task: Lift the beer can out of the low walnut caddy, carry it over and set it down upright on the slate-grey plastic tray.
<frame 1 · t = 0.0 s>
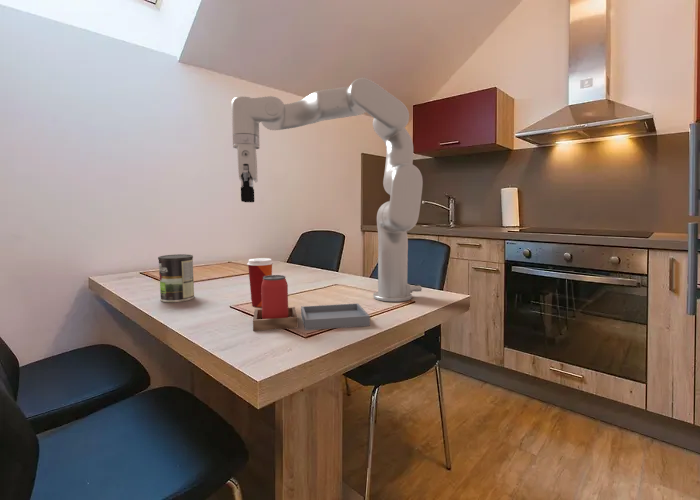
hand: (248, 201, 111), 31 cm above the table, tool pointing down, fingers open, 9 cm apart
paper cup: (261, 305, 115), on the table
beer can: (275, 323, 96), resting in caddy
caddy: (275, 322, 96), on the table
coffee can: (178, 299, 123), on the table
tray: (333, 320, 98), on the table
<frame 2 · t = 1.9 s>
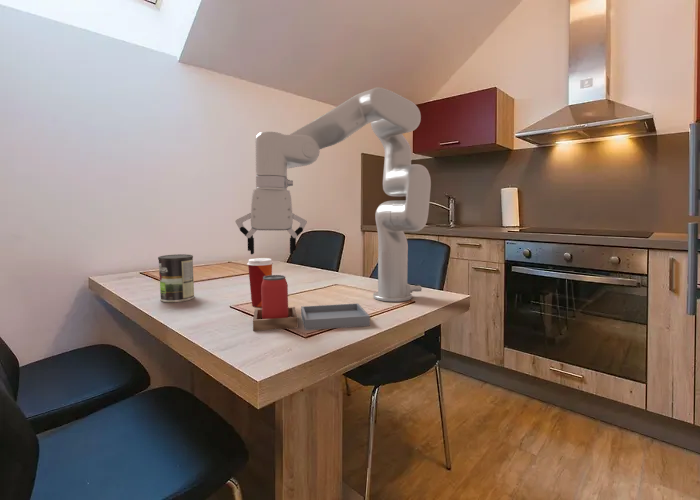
hand: (272, 253, 94), 18 cm above the table, tool pointing down, fingers open, 9 cm apart
nothing on the table moved.
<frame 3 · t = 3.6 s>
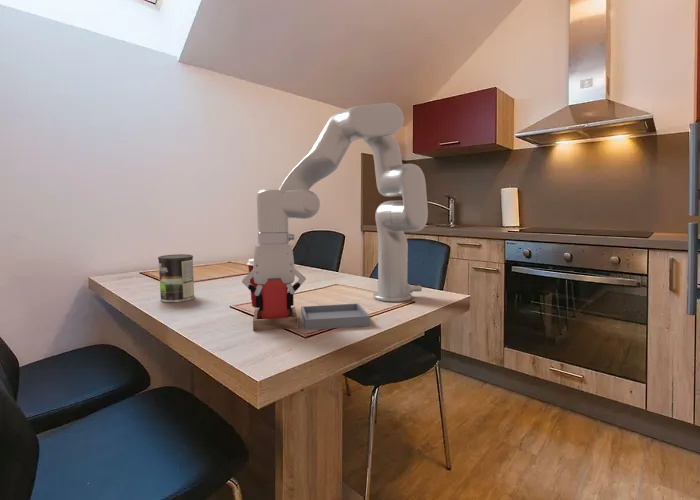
hand: (275, 308, 96), 4 cm above the table, tool pointing down, fingers closed on beer can, 6 cm apart
beer can: (275, 323, 96), resting in caddy, touching gripper
everything else where it was.
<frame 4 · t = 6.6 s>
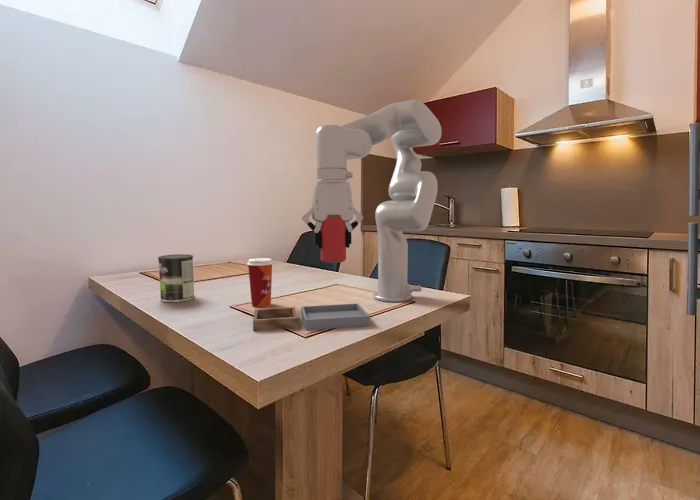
hand: (333, 247, 96), 19 cm above the table, tool pointing down, fingers closed on beer can, 6 cm apart
beer can: (333, 262, 97), point 15 cm above the table, touching gripper
everything else where it was.
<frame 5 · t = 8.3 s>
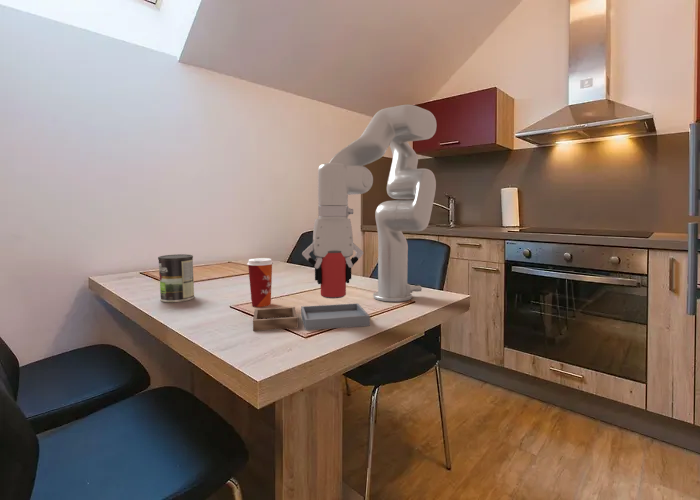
hand: (333, 282, 97), 10 cm above the table, tool pointing down, fingers closed on beer can, 6 cm apart
beer can: (333, 296, 97), point 6 cm above the table, touching gripper
everything else where it was.
when the fingers open (6 cm above the table, at t = 9.7 s): beer can stays where it is, resting on tray.
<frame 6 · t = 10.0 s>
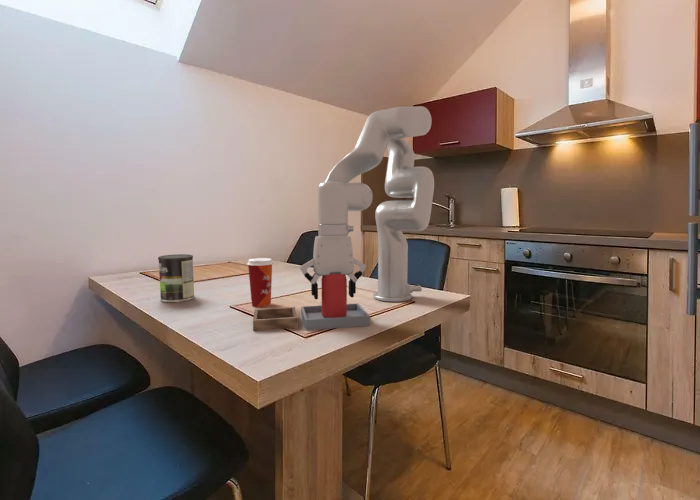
hand: (333, 297, 98), 6 cm above the table, tool pointing down, fingers open, 9 cm apart
beer can: (334, 317, 98), point 1 cm above the table, touching tray
everything else where it was.
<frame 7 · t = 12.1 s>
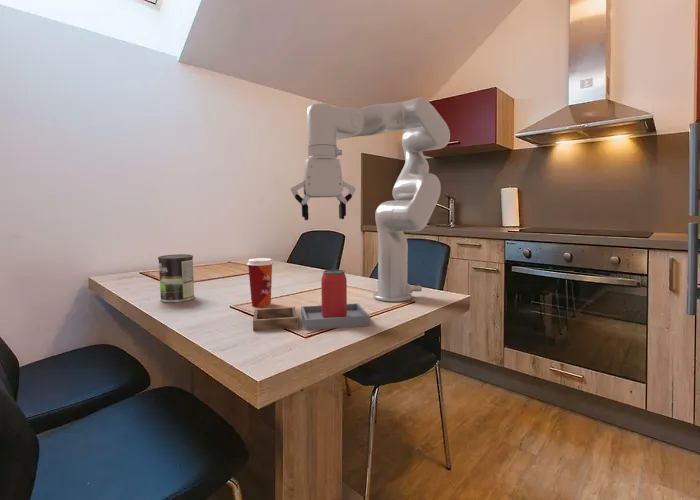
hand: (324, 219, 101), 26 cm above the table, tool pointing down, fingers open, 9 cm apart
nothing on the table moved.
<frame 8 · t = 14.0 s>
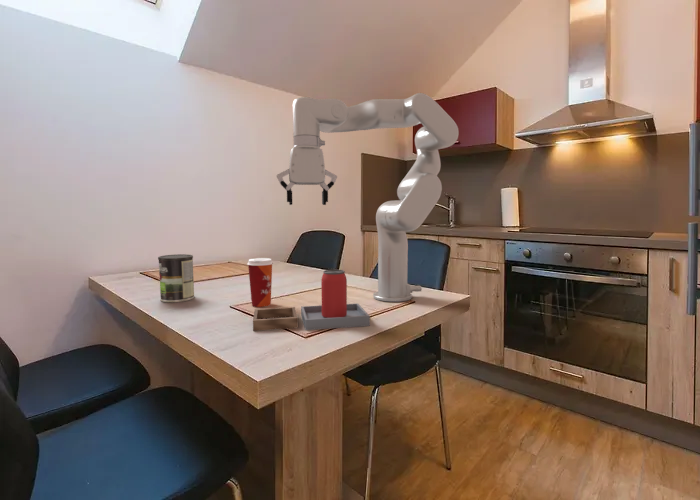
hand: (307, 204, 109), 30 cm above the table, tool pointing down, fingers open, 9 cm apart
nothing on the table moved.
at the end: beer can inside the target area on the tray (0.1 cm from its centre), point 0.8 cm above the tray's base; beer can tilted 0°; the gripper is holding nothing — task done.
